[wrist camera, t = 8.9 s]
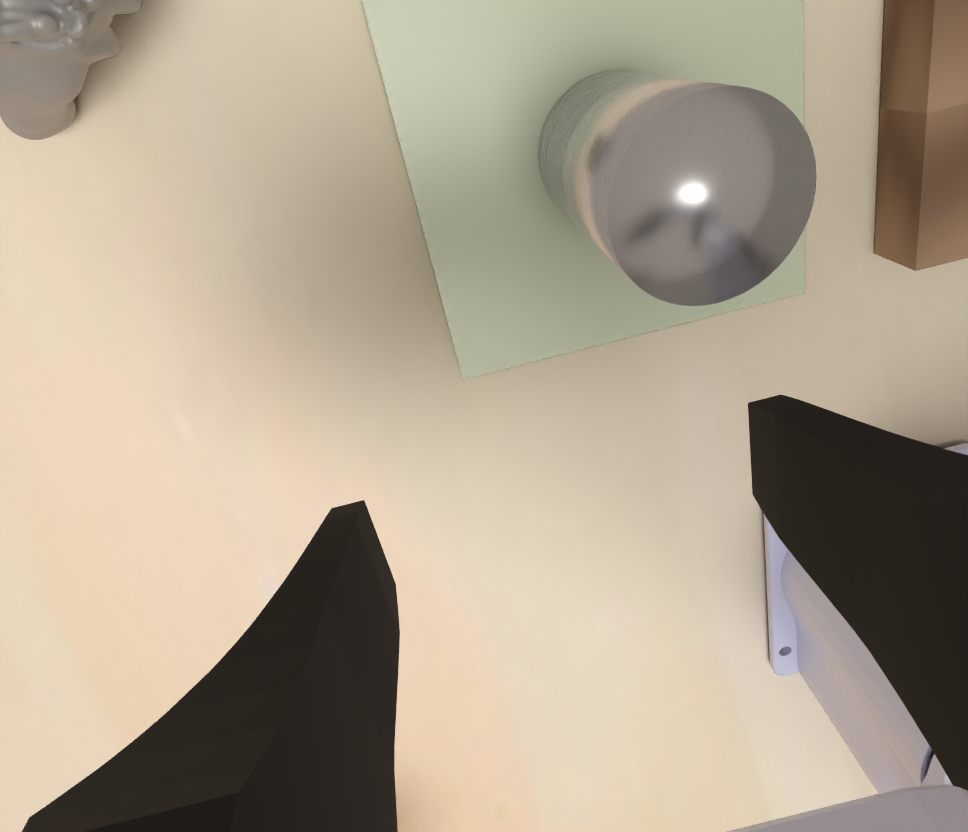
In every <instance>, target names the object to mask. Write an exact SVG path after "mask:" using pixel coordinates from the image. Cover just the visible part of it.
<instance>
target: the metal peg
mask: <svg viewBox="0 0 968 832" xmlns="http://www.w3.org/2000/svg"><path fill="white" fill-rule="evenodd" d="M538 163H539V171H540V174H541V178H542V181H543V184H544V186H545V189H546V191H547V192H548V194H549V196H550V198H551V199H552V200H553V201H554V203H555V204H556V205H557V206H558V207H559V208H560V209H561V210H562V211H563V212H564V213H565V214H566V215H567V216H568V217H569V218H570V219H571V220H572V221H573V222H574V223H575V224H576V225H577V226H578V227H579V228H580V229H581V230H582V231H583V232H584V233H585V234H586V235H587V236H588V237H589V238H590V239H591V240H592V241H593V242H594V243H595V244H596V245H597V246H598V247H599V248H600V249H601V250H602V251H603V252H604V253H605V254H606V255H607V256H608V257H609V258H610V259H611V260H612V261H613V262H614V263H615V264H616V265H617V266H618V267H619V268H620V269H621V270H622V271H623V272H624V273H625V274H626V275H627V276H628V277H629V278H630V279H631V280H632V281H633V282H634V283H635V284H636V285H637V286H638V287H639V288H641V289H642V290H643V291H645V292H646V293H648V294H649V295H651V296H653V297H655V298H657V299H659V300H662V301H665V302H668V303H672V304H677V305H682V306H703V305H710V304H715V303H720V302H723V301H726V300H729V299H732V298H734V297H736V296H738V295H741V294H743V293H745V292H746V291H748V290H750V289H751V288H753V287H755V286H756V285H758V284H759V283H760V282H762V281H763V280H764V279H766V278H767V277H768V276H769V275H770V274H771V273H772V272H773V271H774V270H776V269H777V268H778V267H779V265H780V264H781V263H782V262H783V261H784V260H785V259H786V257H787V256H788V255H789V253H790V252H791V250H792V249H793V248H794V246H795V245H796V243H797V241H798V239H799V238H800V236H801V234H802V232H803V230H804V228H805V225H806V223H807V221H808V218H809V215H810V212H811V209H812V205H813V200H814V195H815V188H816V165H815V158H814V153H813V148H812V145H811V142H810V140H809V137H808V135H807V133H806V131H805V129H804V127H803V125H802V123H801V122H800V121H799V119H798V118H797V117H796V115H795V114H794V113H793V112H792V111H791V110H790V109H789V108H788V107H787V106H786V105H785V104H783V103H782V102H780V101H779V100H778V99H776V98H775V97H773V96H771V95H769V94H767V93H764V92H762V91H759V90H756V89H752V88H748V87H742V86H734V85H727V84H719V83H712V82H704V81H697V80H689V79H682V78H675V77H667V76H660V75H652V74H645V73H637V72H630V71H621V70H614V71H605V72H600V73H597V74H594V75H591V76H588V77H587V78H585V79H583V80H581V81H579V82H578V83H576V84H575V85H573V86H572V87H571V88H570V89H568V90H567V91H566V92H565V93H564V94H563V95H562V96H561V97H560V99H559V100H558V101H557V102H556V103H555V105H554V106H553V108H552V109H551V111H550V113H549V115H548V117H547V119H546V121H545V123H544V126H543V129H542V132H541V136H540V140H539V149H538Z"/></svg>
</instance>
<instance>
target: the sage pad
mask: <svg viewBox="0 0 968 832" xmlns="http://www.w3.org/2000/svg"><path fill="white" fill-rule="evenodd" d="M362 3H363V7H364V11H365V15H366V18H367V22H368V26H369V30H370V33H371V37H372V41H373V45H374V48H375V52H376V56H377V60H378V64H379V67H380V71H381V75H382V79H383V82H384V86H385V90H386V94H387V97H388V101H389V105H390V109H391V112H392V116H393V120H394V124H395V127H396V131H397V135H398V139H399V142H400V146H401V150H402V154H403V157H404V161H405V165H406V169H407V172H408V176H409V180H410V184H411V187H412V191H413V195H414V199H415V202H416V206H417V210H418V214H419V217H420V221H421V225H422V229H423V232H424V236H425V240H426V244H427V247H428V251H429V255H430V259H431V263H432V266H433V270H434V274H435V278H436V281H437V285H438V289H439V293H440V296H441V300H442V304H443V308H444V311H445V315H446V319H447V323H448V326H449V330H450V334H451V338H452V341H453V345H454V349H455V353H456V356H457V360H458V364H459V368H460V371H461V375H462V379H463V380H464V379H468V378H471V377H475V376H479V375H483V374H487V373H491V372H495V371H499V370H503V369H507V368H511V367H515V366H519V365H523V364H527V363H531V362H535V361H538V360H542V359H546V358H550V357H554V356H558V355H562V354H566V353H570V352H574V351H578V350H582V349H586V348H590V347H594V346H598V345H601V344H605V343H609V342H613V341H617V340H621V339H625V338H629V337H633V336H637V335H641V334H645V333H649V332H653V331H657V330H661V329H664V328H668V327H672V326H676V325H680V324H684V323H688V322H692V321H696V320H700V319H704V318H708V317H712V316H716V315H720V314H724V313H727V312H731V311H735V310H739V309H743V308H747V307H751V306H755V305H759V304H763V303H767V302H771V301H775V300H779V299H783V298H787V297H791V296H794V295H798V294H802V293H805V228H804V230H803V232H802V234H801V236H800V238H799V239H798V241H797V243H796V245H795V246H794V248H793V249H792V250H791V252H790V253H789V255H788V256H787V257H786V259H785V260H784V261H783V262H782V263H781V264H780V265H779V267H778V268H777V269H776V270H774V271H773V272H772V273H771V274H770V275H769V276H768V277H767V278H766V279H764V280H763V281H762V282H760V283H759V284H758V285H756V286H755V287H753V288H751V289H750V290H748V291H746V292H745V293H743V294H741V295H738V296H736V297H734V298H732V299H729V300H726V301H723V302H720V303H715V304H710V305H703V306H682V305H677V304H672V303H668V302H665V301H662V300H659V299H657V298H655V297H653V296H651V295H649V294H648V293H646V292H645V291H643V290H642V289H641V288H639V287H638V286H637V285H636V284H635V283H634V282H633V281H632V280H631V279H630V278H629V277H628V276H627V275H626V274H625V273H624V272H623V271H622V270H621V269H620V268H619V267H618V266H617V265H616V264H615V263H614V262H613V261H612V260H611V259H610V258H609V257H608V256H607V255H606V254H605V253H604V252H603V251H602V250H601V249H600V248H599V247H598V246H597V245H596V244H595V243H594V242H593V241H592V240H591V239H590V238H589V237H588V236H587V235H586V234H585V233H584V232H583V231H582V230H581V229H580V228H579V227H578V226H577V225H576V224H575V223H574V222H573V221H572V220H571V219H570V218H569V217H568V216H567V215H566V214H565V213H564V212H563V211H562V210H561V209H560V208H559V207H558V206H557V205H556V204H555V203H554V201H553V200H552V199H551V198H550V196H549V194H548V192H547V191H546V189H545V186H544V184H543V181H542V178H541V174H540V171H539V163H538V149H539V140H540V136H541V132H542V129H543V126H544V123H545V121H546V119H547V117H548V115H549V113H550V111H551V109H552V108H553V106H554V105H555V103H556V102H557V101H558V100H559V99H560V97H561V96H562V95H563V94H564V93H565V92H566V91H567V90H568V89H570V88H571V87H572V86H573V85H575V84H576V83H578V82H579V81H581V80H583V79H585V78H587V77H588V76H591V75H594V74H597V73H600V72H605V71H614V70H621V71H630V72H637V73H645V74H652V75H660V76H667V77H675V78H682V79H689V80H697V81H704V82H712V83H719V84H727V85H734V86H742V87H748V88H752V89H756V90H759V91H762V92H764V93H767V94H769V95H771V96H773V97H775V98H776V99H778V100H779V101H780V102H782V103H783V104H785V105H786V106H787V107H788V108H789V109H790V110H791V111H792V112H793V113H794V114H795V115H796V117H797V118H798V119H799V121H800V122H801V123H802V125H803V127H804V66H803V0H362Z"/></svg>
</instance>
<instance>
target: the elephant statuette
mask: <svg viewBox="0 0 968 832" xmlns="http://www.w3.org/2000/svg"><path fill="white" fill-rule="evenodd" d="M141 5H142V3H141V0H0V116H1V118H2V120H3V122H4V123H5V125H6V126H7V127H8V128H9V129H10V130H11V131H12V132H14V133H15V134H17V135H18V136H20V137H23V138H26V139H31V140H40V139H45V138H48V137H51V136H53V135H55V134H57V133H59V132H61V131H63V130H65V129H66V128H67V127H69V126H70V125H71V124H72V122H73V121H74V119H75V115H76V106H75V102H74V100H73V99H75V98H76V96H77V95H78V94H79V93H80V91H81V89H82V87H83V84H84V82H85V79H86V75H87V72H88V69H89V67H90V65H91V64H92V63H95V62H97V61H99V60H102V59H107V58H110V57H113V56H115V55H117V54H118V53H119V51H120V43H119V40H118V38H117V36H116V35H115V33H114V32H113V30H112V29H111V27H110V26H109V25H110V24H111V23H112V20H113V16H114V15H115V14H132V13H136V12H138V11H139V10H140V8H141Z"/></svg>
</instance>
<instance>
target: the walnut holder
mask: <svg viewBox="0 0 968 832" xmlns="http://www.w3.org/2000/svg"><path fill="white" fill-rule="evenodd" d="M874 254H877V255H879V256H882V257H884V258H886V259H889V260H891V261H894V262H896V263H898V264H901V265H903V266H906V267H908V268H910V269H913V270H915V271H917V270H921V269H925V268H928V267H932V266H936V265H940V264H944V263H948V262H952V261H956V260H960V259H964V258H968V0H885V2H884V26H883V50H882V75H881V99H880V124H879V148H878V172H877V197H876V221H875V246H874Z"/></svg>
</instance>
